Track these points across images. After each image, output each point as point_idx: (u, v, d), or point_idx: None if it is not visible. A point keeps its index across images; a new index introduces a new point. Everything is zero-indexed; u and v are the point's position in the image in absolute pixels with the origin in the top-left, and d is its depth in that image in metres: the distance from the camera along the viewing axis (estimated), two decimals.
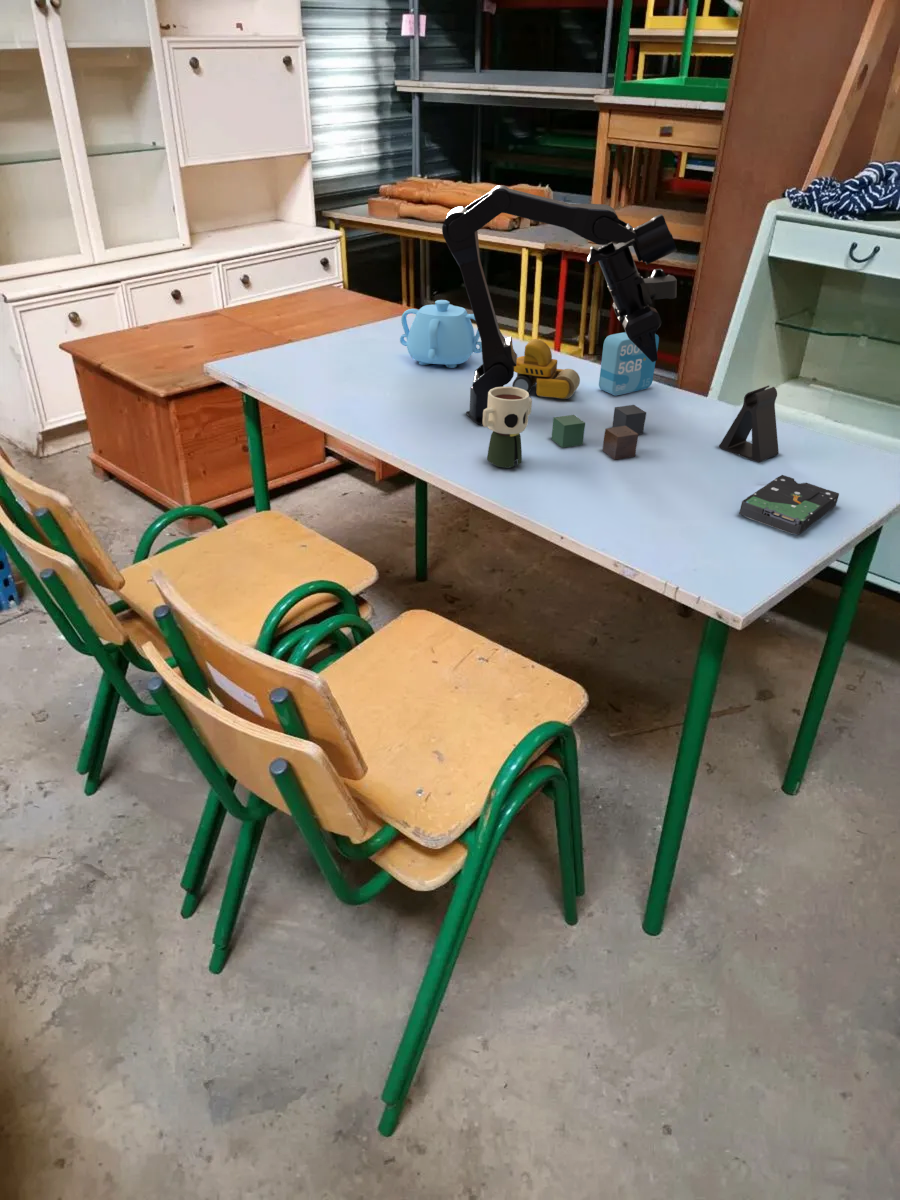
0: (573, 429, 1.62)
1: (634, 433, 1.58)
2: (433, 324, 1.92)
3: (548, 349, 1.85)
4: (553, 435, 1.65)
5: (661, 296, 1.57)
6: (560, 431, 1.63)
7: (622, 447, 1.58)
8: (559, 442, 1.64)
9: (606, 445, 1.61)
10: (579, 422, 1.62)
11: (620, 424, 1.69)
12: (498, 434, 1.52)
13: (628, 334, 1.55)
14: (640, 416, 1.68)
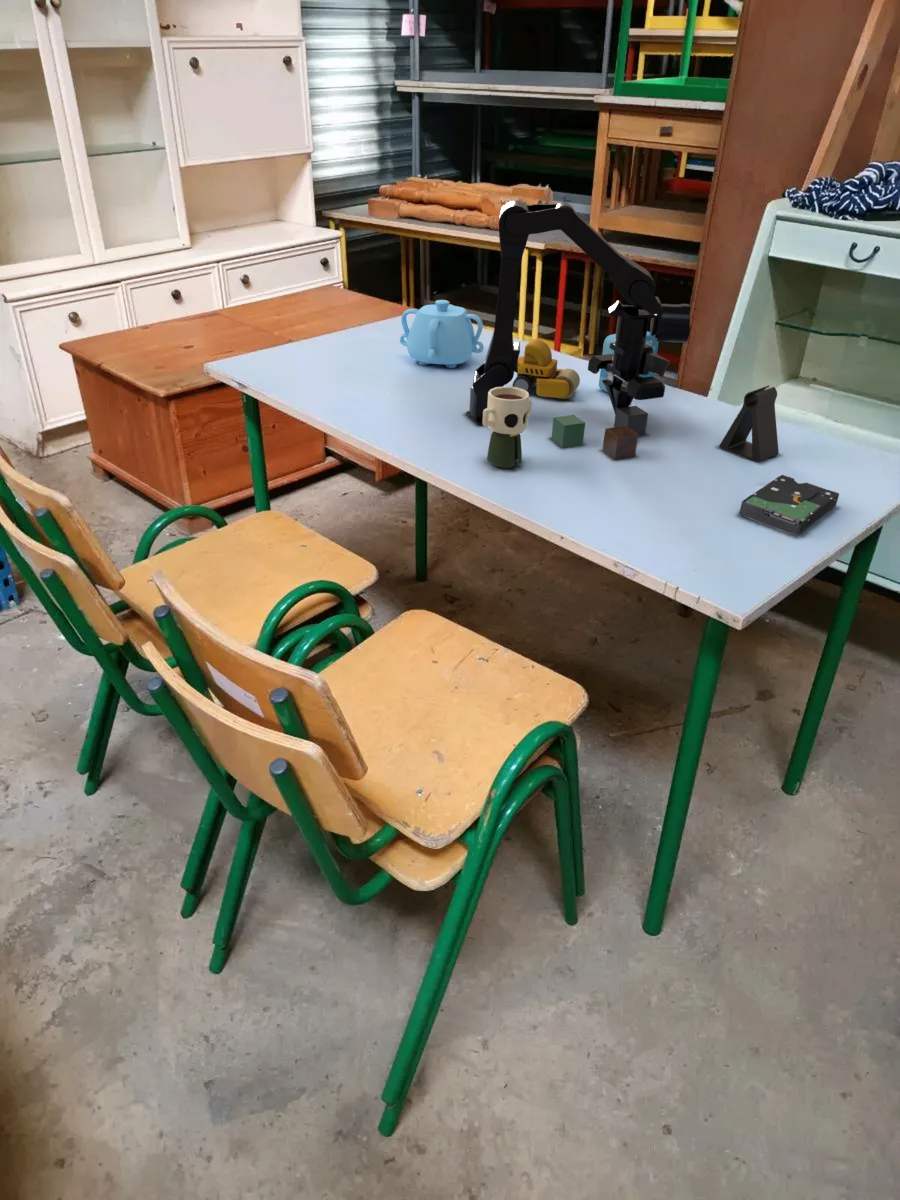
0: (573, 429, 1.62)
1: (634, 433, 1.58)
2: (433, 324, 1.92)
3: (548, 349, 1.85)
4: (553, 435, 1.65)
5: (655, 371, 1.67)
6: (560, 431, 1.63)
7: (622, 447, 1.58)
8: (559, 442, 1.64)
9: (606, 445, 1.61)
10: (579, 422, 1.62)
11: (622, 425, 1.68)
12: (498, 434, 1.52)
13: (637, 396, 1.61)
14: (642, 417, 1.67)
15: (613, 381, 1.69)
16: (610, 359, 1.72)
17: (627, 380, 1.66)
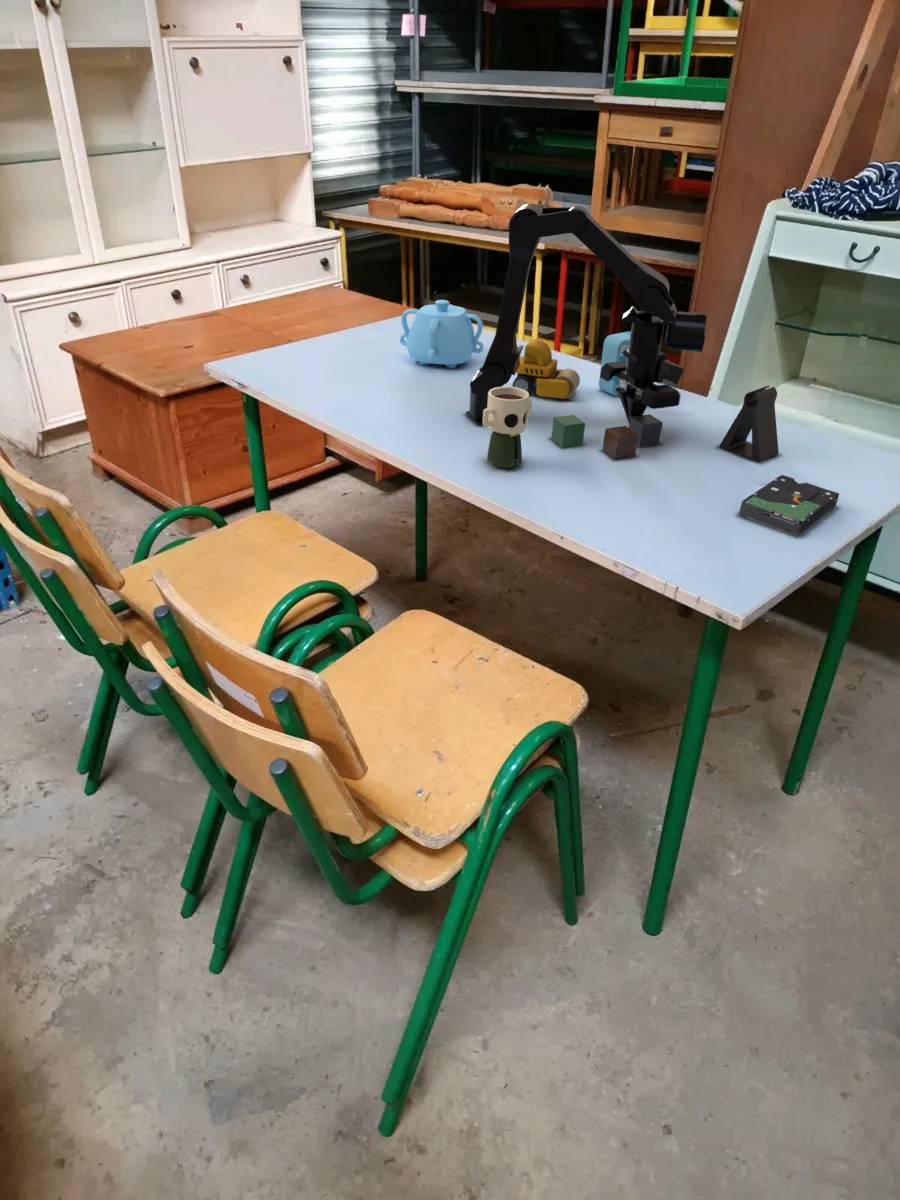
0: (573, 429, 1.62)
1: (634, 433, 1.58)
2: (433, 324, 1.92)
3: (548, 349, 1.85)
4: (553, 435, 1.65)
5: (670, 378, 1.64)
6: (560, 431, 1.63)
7: (622, 447, 1.58)
8: (559, 442, 1.64)
9: (606, 445, 1.61)
10: (579, 422, 1.62)
11: None
12: (498, 434, 1.52)
13: (652, 405, 1.57)
14: (656, 426, 1.63)
15: (626, 389, 1.65)
16: (623, 366, 1.68)
17: (641, 388, 1.62)
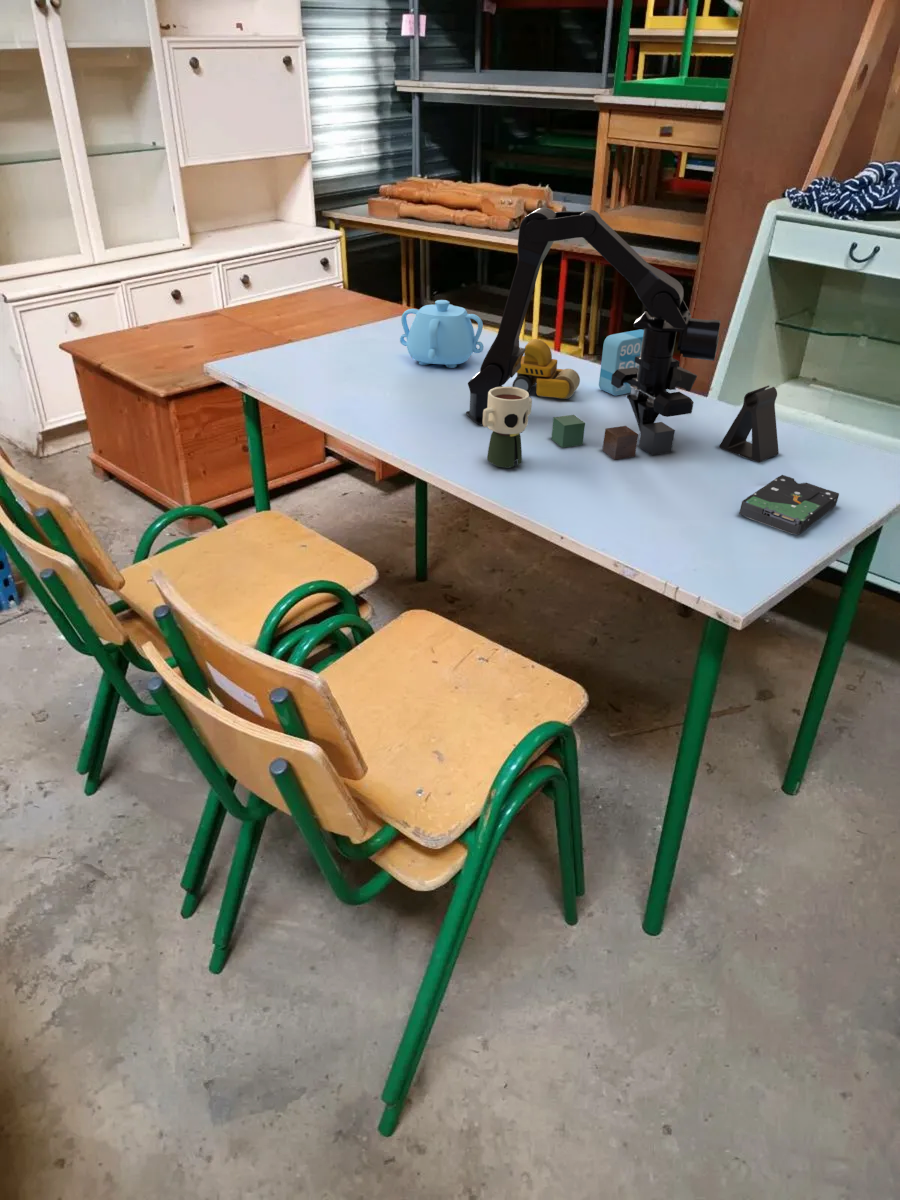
0: (573, 429, 1.62)
1: (634, 433, 1.58)
2: (433, 324, 1.92)
3: (548, 349, 1.85)
4: (553, 435, 1.65)
5: (682, 385, 1.61)
6: (560, 431, 1.63)
7: (622, 447, 1.58)
8: (559, 442, 1.64)
9: (606, 445, 1.61)
10: (579, 422, 1.62)
11: (647, 442, 1.62)
12: (498, 434, 1.52)
13: (665, 412, 1.54)
14: (669, 434, 1.60)
15: (638, 396, 1.62)
16: (634, 373, 1.65)
17: (653, 395, 1.59)
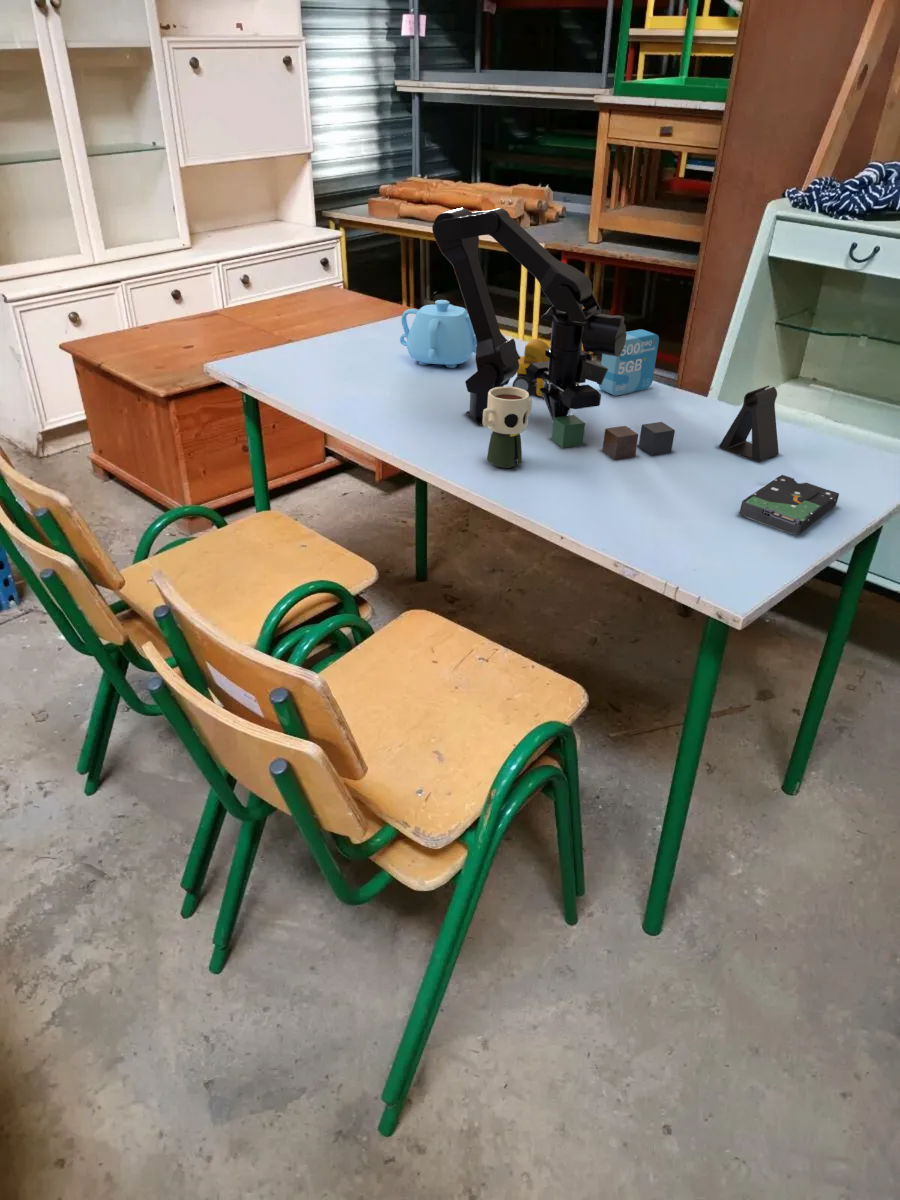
0: (573, 429, 1.62)
1: (634, 433, 1.58)
2: (433, 324, 1.92)
3: (548, 349, 1.85)
4: (553, 435, 1.65)
5: (593, 379, 1.62)
6: (560, 431, 1.62)
7: (622, 447, 1.58)
8: (559, 442, 1.64)
9: (606, 445, 1.61)
10: (579, 422, 1.62)
11: (647, 442, 1.62)
12: (498, 434, 1.52)
13: (572, 405, 1.56)
14: (669, 434, 1.60)
15: (550, 389, 1.64)
16: (548, 366, 1.67)
17: (563, 388, 1.60)
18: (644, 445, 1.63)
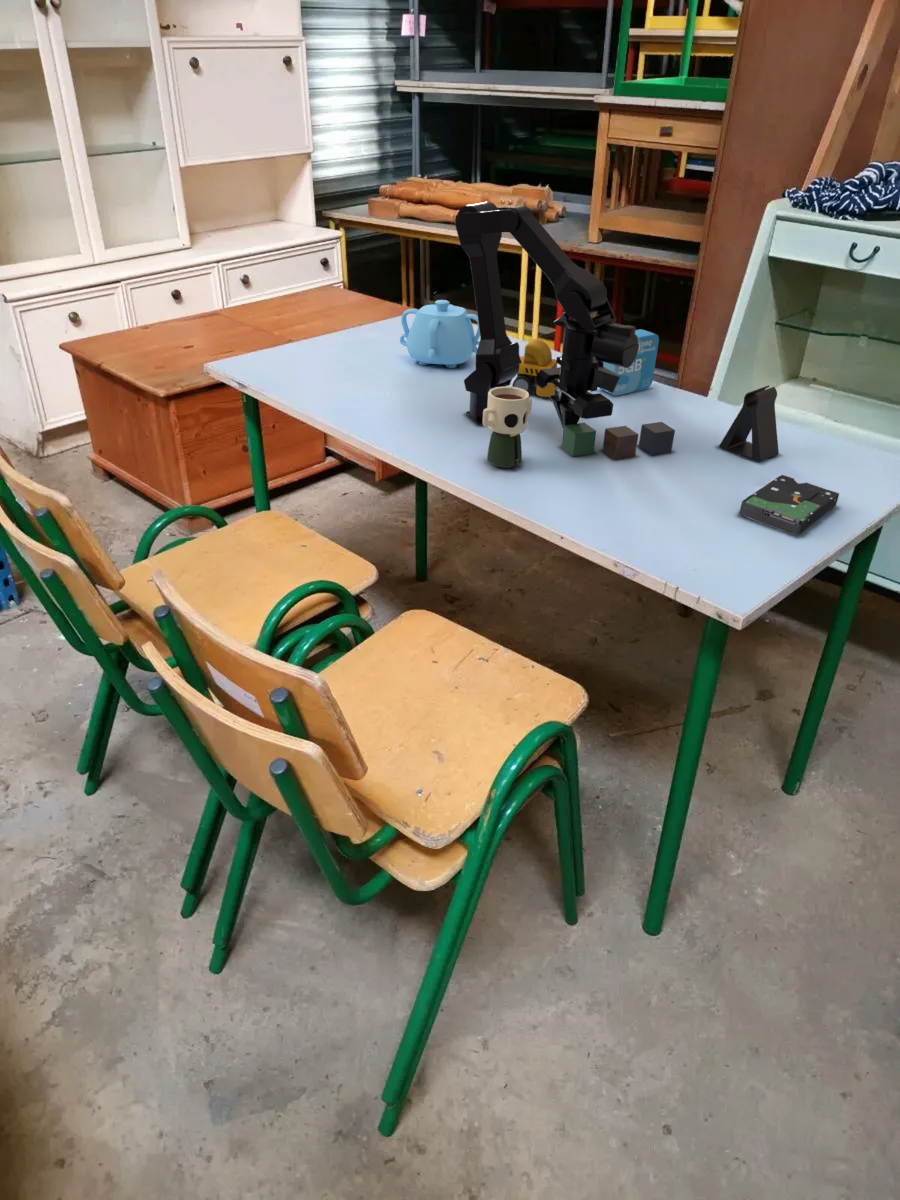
0: (584, 437, 1.59)
1: (634, 433, 1.58)
2: (433, 324, 1.92)
3: (548, 349, 1.85)
4: (563, 443, 1.62)
5: (604, 387, 1.59)
6: (571, 440, 1.59)
7: (622, 447, 1.58)
8: (570, 451, 1.60)
9: (606, 445, 1.61)
10: (590, 430, 1.59)
11: (647, 442, 1.62)
12: (498, 434, 1.52)
13: (583, 414, 1.52)
14: (669, 434, 1.60)
15: (561, 397, 1.61)
16: (559, 373, 1.63)
17: (574, 397, 1.57)
18: (644, 445, 1.63)
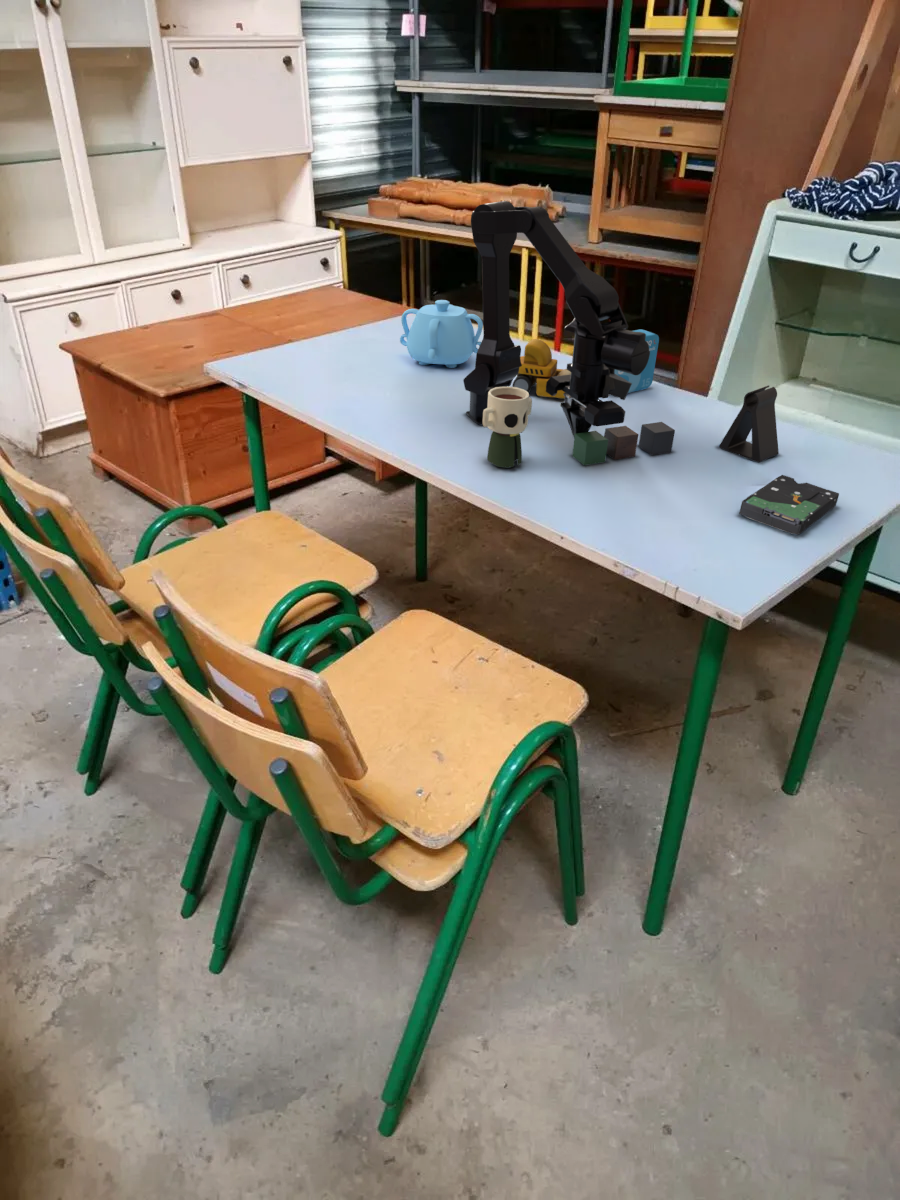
0: (595, 446, 1.56)
1: (634, 433, 1.58)
2: (433, 324, 1.92)
3: (548, 349, 1.85)
4: (574, 452, 1.59)
5: (616, 394, 1.56)
6: (582, 448, 1.56)
7: (622, 447, 1.58)
8: (581, 460, 1.57)
9: None
10: (602, 439, 1.56)
11: (647, 442, 1.62)
12: (498, 434, 1.52)
13: (595, 422, 1.49)
14: (669, 434, 1.60)
15: (571, 404, 1.58)
16: (569, 380, 1.60)
17: (585, 404, 1.54)
18: (644, 445, 1.63)
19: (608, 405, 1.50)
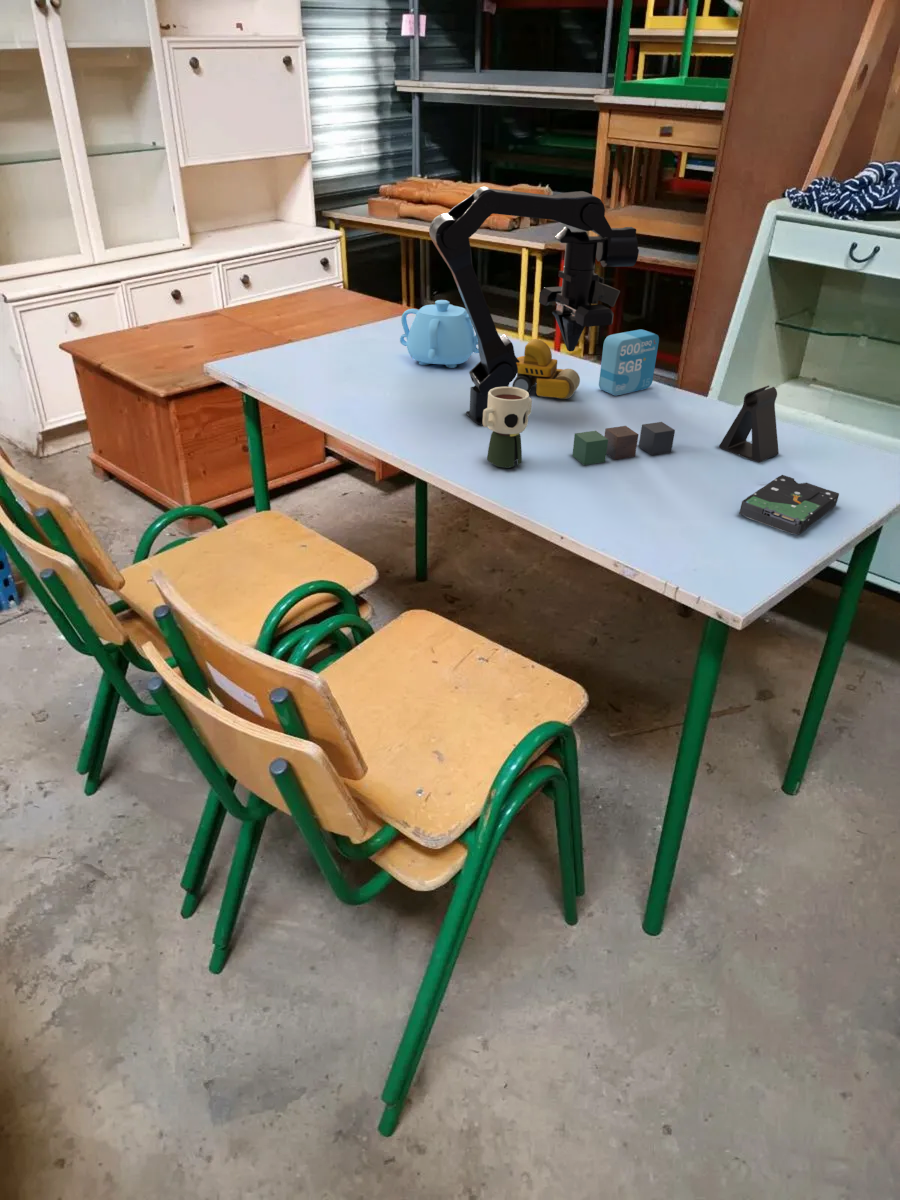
0: (595, 446, 1.56)
1: (634, 433, 1.58)
2: (433, 324, 1.92)
3: (548, 349, 1.85)
4: (574, 452, 1.59)
5: (605, 300, 1.65)
6: (582, 448, 1.56)
7: (622, 447, 1.58)
8: (581, 459, 1.57)
9: None
10: (602, 438, 1.56)
11: (647, 442, 1.62)
12: (498, 434, 1.52)
13: (585, 322, 1.58)
14: (669, 434, 1.60)
15: (563, 311, 1.67)
16: (561, 290, 1.70)
17: (576, 309, 1.63)
18: (644, 445, 1.63)
19: (597, 307, 1.60)
